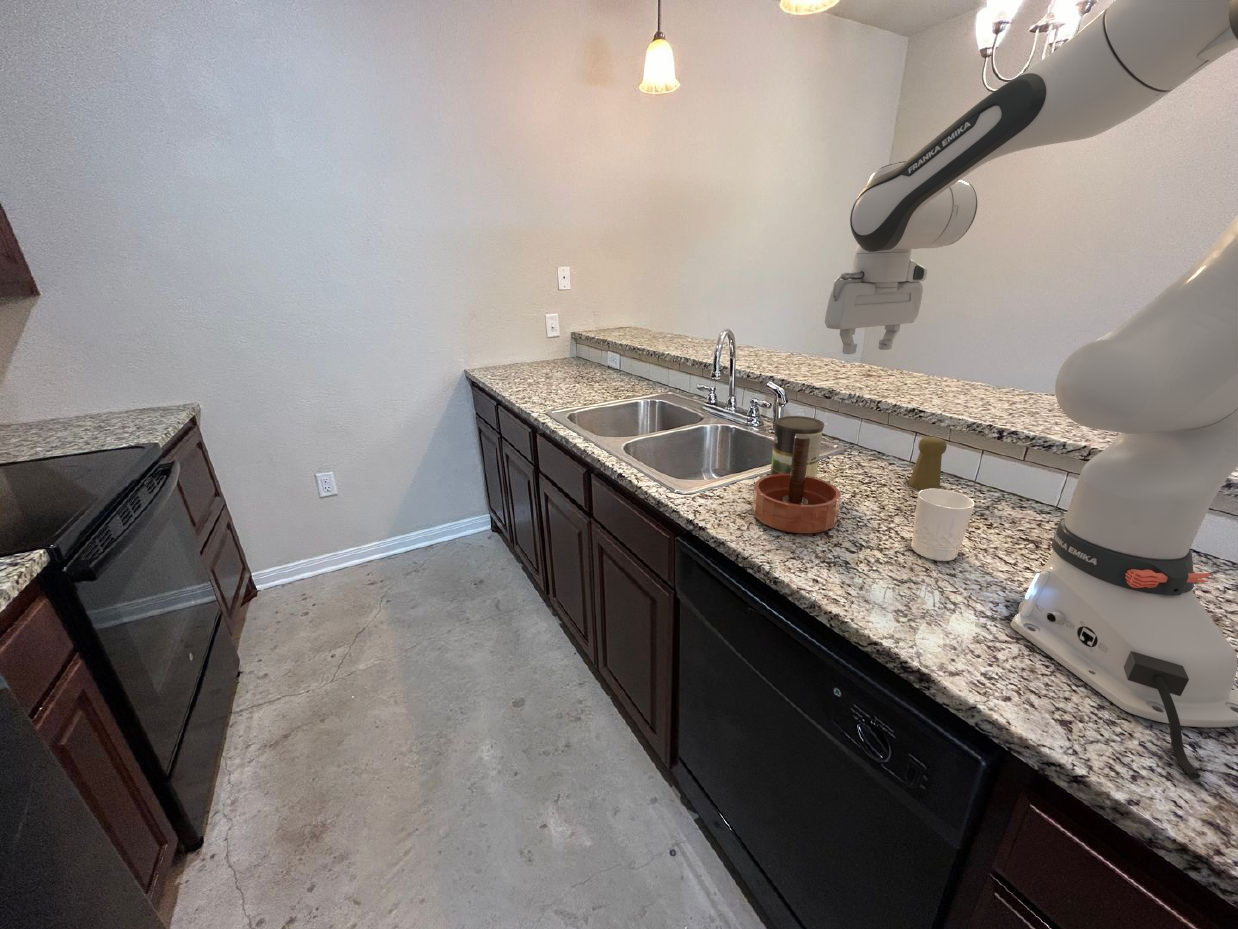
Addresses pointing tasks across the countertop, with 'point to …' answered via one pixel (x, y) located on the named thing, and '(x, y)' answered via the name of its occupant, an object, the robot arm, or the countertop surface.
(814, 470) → the coffee can
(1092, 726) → the countertop surface
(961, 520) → the white cup
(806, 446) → the muddler
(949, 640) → the countertop surface
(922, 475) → the pepper grinder
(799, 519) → the bowl
